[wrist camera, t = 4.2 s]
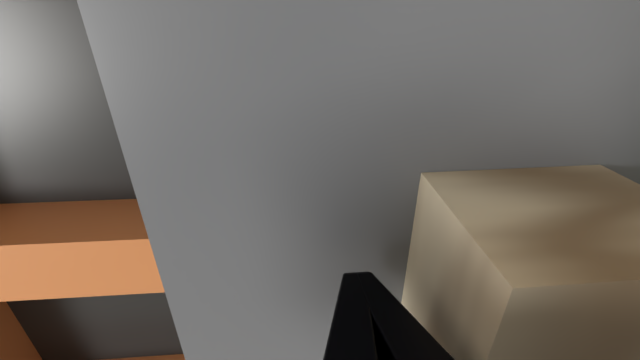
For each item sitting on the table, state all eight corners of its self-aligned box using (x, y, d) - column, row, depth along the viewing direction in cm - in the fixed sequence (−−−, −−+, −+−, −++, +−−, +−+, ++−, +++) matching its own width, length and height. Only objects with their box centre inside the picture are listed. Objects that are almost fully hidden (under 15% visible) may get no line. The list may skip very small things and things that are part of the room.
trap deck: (822, -48, 9) (1426, -112, 4) (595, 332, 17) (722, 465, 12) (-310, -69, 7) (-1593, -235, 2) (11, 374, 15) (-129, 556, 10)
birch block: (600, 164, 9) (806, 268, 5) (543, 296, 11) (659, 428, 8) (420, 172, 9) (513, 288, 5) (400, 307, 11) (453, 450, 7)
